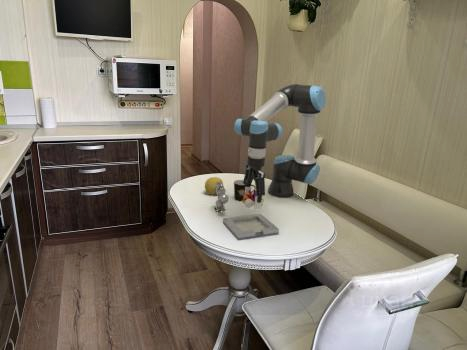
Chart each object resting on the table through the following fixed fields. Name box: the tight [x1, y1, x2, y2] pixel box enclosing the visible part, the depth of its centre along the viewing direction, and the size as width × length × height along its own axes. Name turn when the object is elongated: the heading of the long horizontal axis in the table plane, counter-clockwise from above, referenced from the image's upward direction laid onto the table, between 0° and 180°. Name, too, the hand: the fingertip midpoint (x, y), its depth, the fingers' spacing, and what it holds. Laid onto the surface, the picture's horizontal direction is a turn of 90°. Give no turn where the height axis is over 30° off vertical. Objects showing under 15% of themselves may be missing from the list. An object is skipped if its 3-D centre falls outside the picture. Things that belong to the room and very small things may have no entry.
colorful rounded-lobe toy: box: [241, 189, 264, 208], centre depth 158 cm, size 8×10×7 cm
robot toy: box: [215, 182, 229, 213], centre depth 177 cm, size 15×6×15 cm, turn 13°
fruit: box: [204, 176, 224, 196], centre depth 202 cm, size 10×11×10 cm
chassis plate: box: [222, 213, 280, 241], centre depth 162 cm, size 20×18×2 cm
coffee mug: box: [233, 179, 256, 202], centre depth 196 cm, size 12×9×10 cm
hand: (252, 204), depth 159 cm, fingers closed on colorful rounded-lobe toy, 10 cm apart
